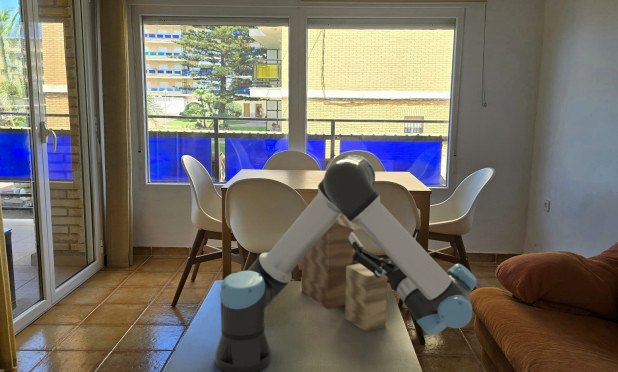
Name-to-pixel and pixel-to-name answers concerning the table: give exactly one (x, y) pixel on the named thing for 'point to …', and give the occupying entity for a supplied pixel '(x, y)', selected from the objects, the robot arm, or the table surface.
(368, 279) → the base pedestal
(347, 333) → the table surface
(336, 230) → the stand
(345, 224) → the wooden block
